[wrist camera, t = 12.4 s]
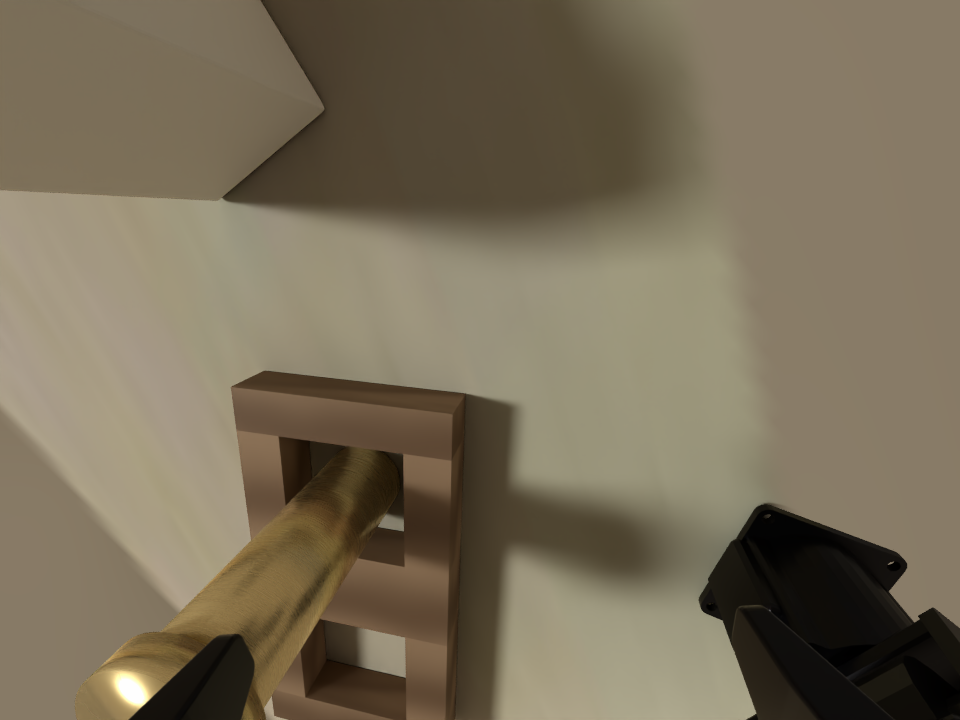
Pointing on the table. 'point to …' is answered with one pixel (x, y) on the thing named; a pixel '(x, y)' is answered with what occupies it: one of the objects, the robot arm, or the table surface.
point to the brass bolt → (260, 591)
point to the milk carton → (144, 96)
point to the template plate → (388, 554)
